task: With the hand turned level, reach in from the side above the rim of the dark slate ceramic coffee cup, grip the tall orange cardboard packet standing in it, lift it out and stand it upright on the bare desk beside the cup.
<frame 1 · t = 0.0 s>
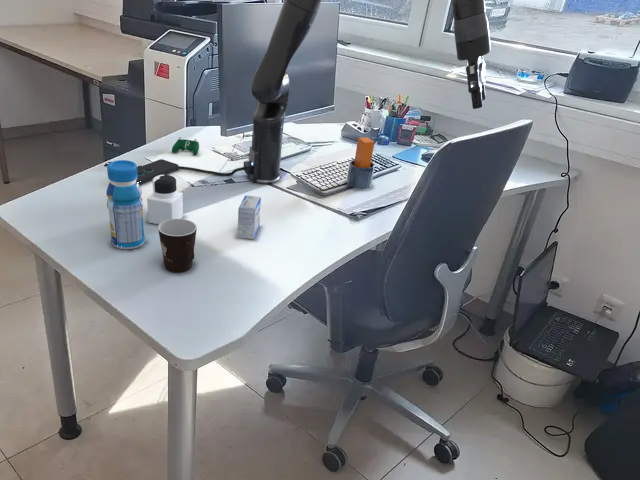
hand: (479, 104, 140), 31 cm above the table, tool tilted 20°, fingers open, 8 cm apart
medicine box: (248, 233, 145), on the table
gaming controller: (186, 152, 194), on the table
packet: (358, 183, 175), resting on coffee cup
beverage bottle: (128, 243, 138), on the table
medicine bottle: (165, 220, 149), on the table
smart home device: (148, 175, 175), on the table
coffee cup: (358, 185, 175), on the table
coffee mug: (178, 269, 128), on the table
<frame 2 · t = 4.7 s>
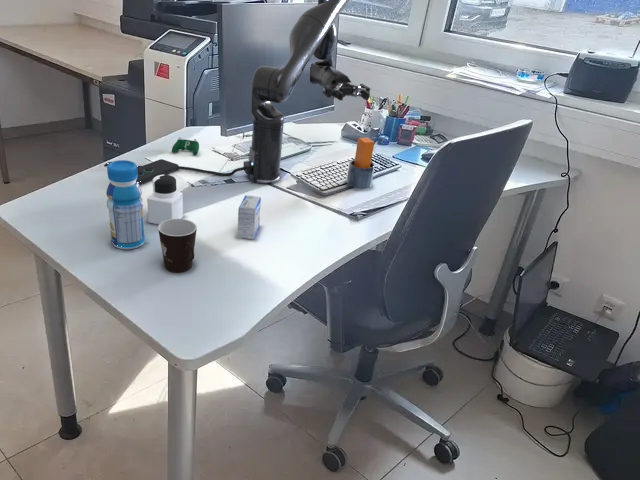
hand: (355, 97, 171), 24 cm above the table, tool horizontal, fingers open, 8 cm apart
nothing on the table moved.
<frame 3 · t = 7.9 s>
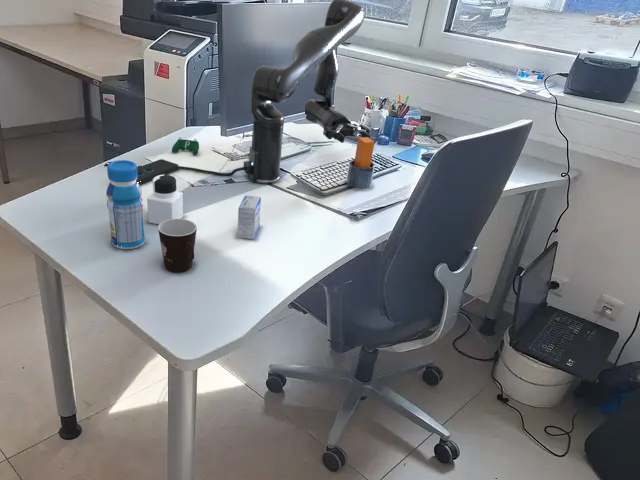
hand: (355, 139, 173), 13 cm above the table, tool horizontal, fingers open, 8 cm apart
nothing on the table moved.
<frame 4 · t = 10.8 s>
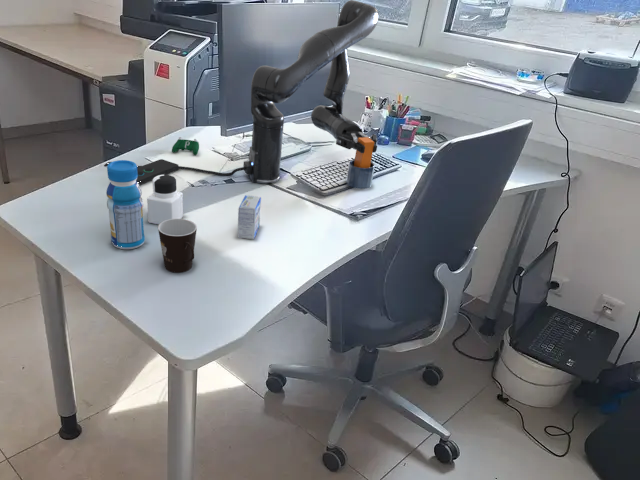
hand: (369, 149, 166), 12 cm above the table, tool horizontal, fingers closed on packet, 3 cm apart
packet: (358, 183, 175), point 1 cm above the table, touching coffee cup, gripper
everything else where it was.
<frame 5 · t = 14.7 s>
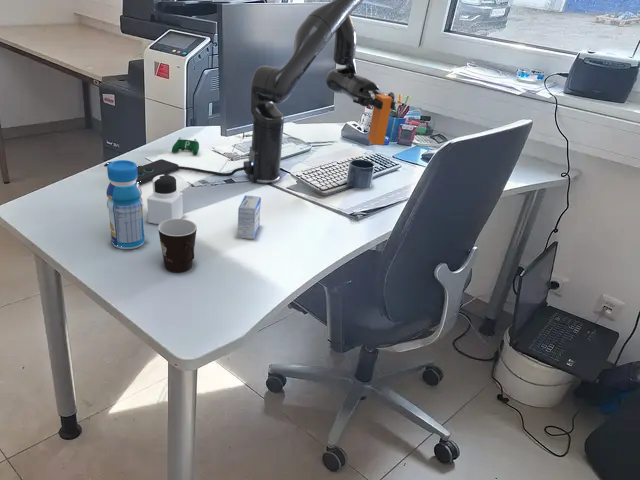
hand: (387, 105, 164), 24 cm above the table, tool horizontal, fingers closed on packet, 3 cm apart
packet: (375, 142, 173), point 12 cm above the table, touching gripper
everything else where it was.
when the fingers open (12 cm above the table, at t = 18.6 s): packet stays where it is, on the table.
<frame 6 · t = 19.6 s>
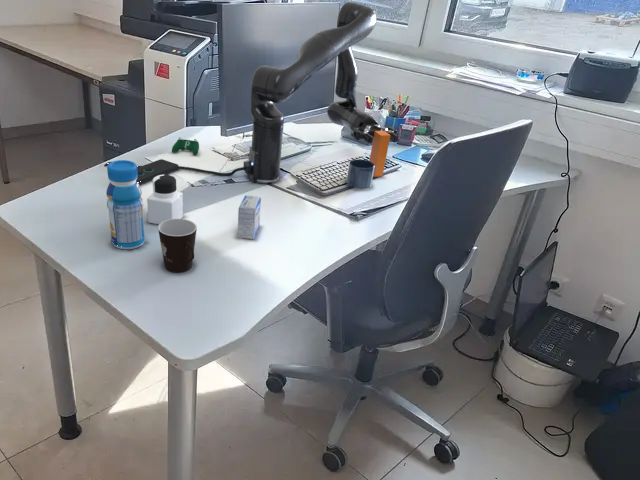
hand: (384, 140, 174), 12 cm above the table, tool horizontal, fingers open, 8 cm apart
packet: (374, 175, 183), on the table
everything else where it was.
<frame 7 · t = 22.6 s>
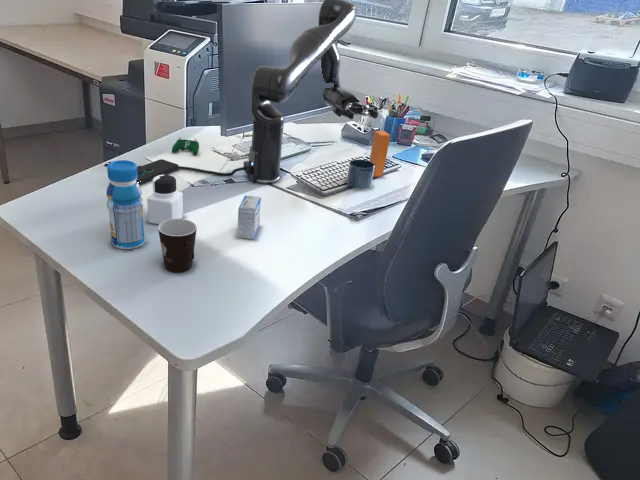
hand: (364, 115, 182), 16 cm above the table, tool horizontal, fingers open, 8 cm apart
nothing on the table moved.
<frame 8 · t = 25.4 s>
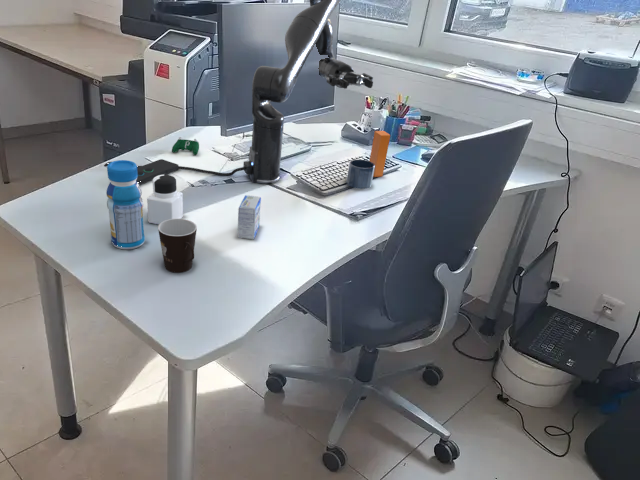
hand: (359, 85, 176), 26 cm above the table, tool horizontal, fingers open, 8 cm apart
nothing on the table moved.
at the end: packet 0.1 cm from the target spot, on the table; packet tilted 0°; the gripper is holding nothing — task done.
